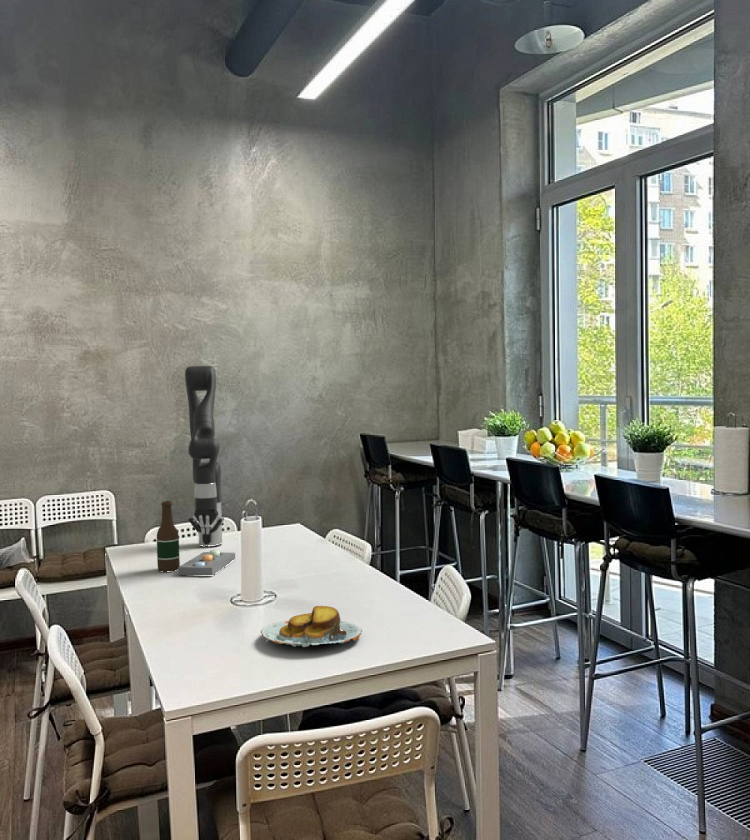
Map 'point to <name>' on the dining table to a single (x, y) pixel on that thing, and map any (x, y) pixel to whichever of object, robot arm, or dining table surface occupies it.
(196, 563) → the blue button
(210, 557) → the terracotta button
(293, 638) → the food on plate
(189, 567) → the button panel
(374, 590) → the dining table surface
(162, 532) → the beer bottle
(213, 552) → the sage button
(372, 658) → the dining table surface
